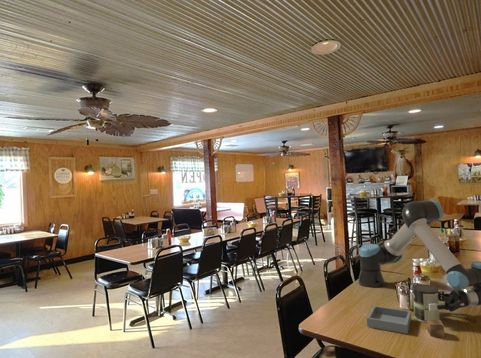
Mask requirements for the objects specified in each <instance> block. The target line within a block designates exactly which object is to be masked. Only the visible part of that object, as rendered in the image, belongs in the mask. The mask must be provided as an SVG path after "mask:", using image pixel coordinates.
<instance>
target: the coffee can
mask: <svg viewBox="0 0 481 358" xmlns="http://www.w3.org/2000/svg"><path fill="white" fill-rule="evenodd" d="M411 288H412V293H413V314H414V319H415V320H416V321H418V322H422V323H425V324H427V319H431V320H441V319H440V310H433V311H430V310H429V304H433V303H439V300H438V292H439V288H438V287H436V286H434V285H431V284H424V283H421V284H420V283H419V284H414V285H412V286H411Z"/></svg>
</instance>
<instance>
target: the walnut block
mask: <svg viewBox="0 0 481 358" xmlns="http://www.w3.org/2000/svg"><path fill="white" fill-rule="evenodd" d="M426 326H427V332H428V334H429V336H430V337H435V338H443V339H444V338H445V325H444V323H443V321H442V320H441V319H440V320H431V319H427V323H426Z"/></svg>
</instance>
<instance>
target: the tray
mask: <svg viewBox="0 0 481 358" xmlns="http://www.w3.org/2000/svg"><path fill="white" fill-rule="evenodd" d="M411 322H412V311H411V310H406V309H398V308H391V307H385V306H378V305H373V306H372V308H371V310H370V312H369V313H368V315H367V317H366V326H367V327H368V328H372V329H378V330H383V331H389V332H395V333H400V334H404V335H408V334H409V330H410V326H411Z"/></svg>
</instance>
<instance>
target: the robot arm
mask: <svg viewBox="0 0 481 358" xmlns="http://www.w3.org/2000/svg"><path fill="white" fill-rule="evenodd" d="M401 215H402V216H401V217H402V220H403V222H404V223H403V225H402V226H401V227H400V228H399V229H398V230H397V231H396V233H395V234H394V235H393V236H392V237H391V238H390V239H386V240H385V241H384V242H383V243H382V245H379V244H375V243H370V244H369V243H368V244H364V245H362V246H361V247H359V261H360V263H359V264H360V272H359V276H358V281H357V282H358V284H359V285H360V286H364V287H369V288H379V287H384V286H385V284H386V283H385V279H384V275H383V273H382V269H381V268H382V266H384V265H389V264H396V263H398V262H400V261H402V259H403V254H404V253H403V252H404V251H403V250H404V248H406V247H407V245H408V244H410V242H411V241H412V240H413V239H414V238H415V237H417V238H418V239H419V240H420V241H421V242H422V244H423V245H424V247H425V248H426V249H427V250H428V252H429V253H430V254H431V256H432V257H433V258H434V260H435V261H436V262H437V263H438V264H439V266H440V267H441V268H442V269H443V270H444V272H445V273H446V277H445V278H446V281H447V284H448V285H449V286H450V287H451V288H454V289H453V290H451V291H450V292H449V293H446V292H445V291H443V290H442V291H438V303H433V304H429V310H430V311H433V310H439V311H442V310H445V311H449V312H455V311H457V310H458V309H459V310H460V308H465V307H469V308H471V307H476V306H481V260H480V261H479V260H478V261H477V260H476V261H471V262H470V267H469V268H465V267H464V266H463V265H462V263H461V262H460V261H459V260H458V258H457V257H456V256H455V255H454V254H453V253H452V252H451V250H450V249H449V248H448V247H447V245H446V244H445V243H444V242H443V241H442V240H441V238H440V237H439V236H438V235H437V234H436V232H435V231H434V230H433V229H432V227H431V225H432V223H434V222H438V221H441V219H442V218H443V217H444V209H443V207H442V205H441V204H440V202H438V201H436V200H433V199H432V200H431V199H424V200H418V201H415V200H414V201H410V202H408V203H406V204H405V205H404V207H403V208H402V211H401ZM468 287H472V288H468ZM409 295H410V298H409V299H410V300H413V292H412V293H409ZM439 301H440V302H439Z"/></svg>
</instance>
